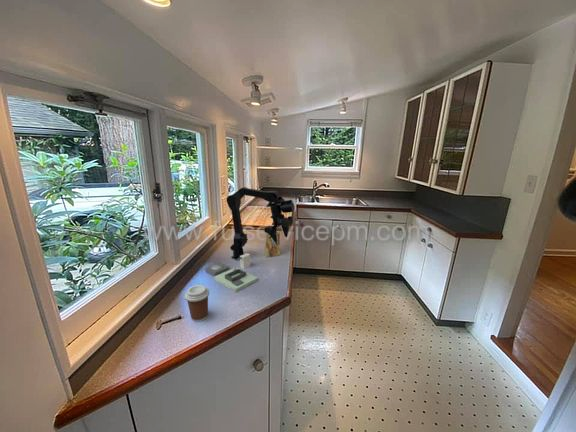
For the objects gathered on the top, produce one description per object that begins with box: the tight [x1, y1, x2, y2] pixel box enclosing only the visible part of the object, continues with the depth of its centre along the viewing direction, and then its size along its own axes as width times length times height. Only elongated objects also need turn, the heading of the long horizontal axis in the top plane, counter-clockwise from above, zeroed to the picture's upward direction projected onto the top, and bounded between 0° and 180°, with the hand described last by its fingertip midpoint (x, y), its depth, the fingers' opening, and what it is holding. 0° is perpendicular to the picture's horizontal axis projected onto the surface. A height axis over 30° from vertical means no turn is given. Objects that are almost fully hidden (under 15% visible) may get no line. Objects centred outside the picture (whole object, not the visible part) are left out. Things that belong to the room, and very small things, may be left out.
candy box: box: [264, 230, 281, 258], centre depth 151 cm, size 9×4×15 cm, turn 110°
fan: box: [204, 262, 230, 277], centre depth 132 cm, size 9×9×3 cm
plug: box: [236, 252, 252, 270], centre depth 137 cm, size 9×3×7 cm, turn 139°
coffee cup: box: [184, 284, 210, 322], centre depth 95 cm, size 9×9×12 cm
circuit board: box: [213, 266, 259, 292], centre depth 123 cm, size 18×14×4 cm
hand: (281, 239), depth 138 cm, fingers open, 9 cm apart
